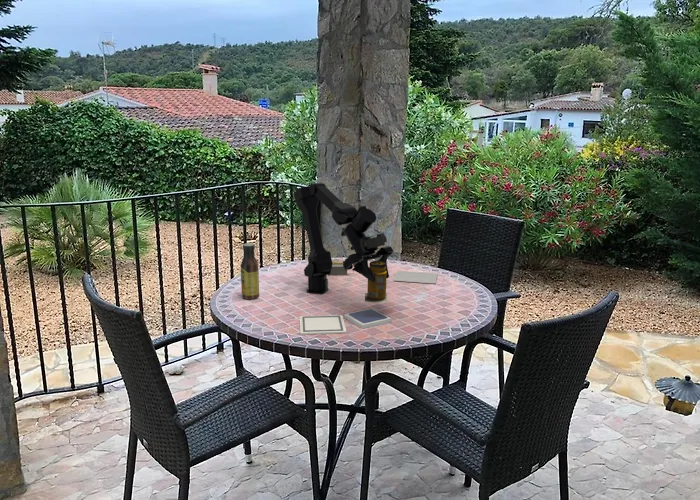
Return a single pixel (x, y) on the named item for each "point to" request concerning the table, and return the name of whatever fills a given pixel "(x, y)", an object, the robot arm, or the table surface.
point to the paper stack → (416, 277)
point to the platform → (338, 268)
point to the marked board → (322, 324)
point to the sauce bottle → (249, 273)
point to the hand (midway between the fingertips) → (381, 279)
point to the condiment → (377, 283)
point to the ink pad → (367, 318)
